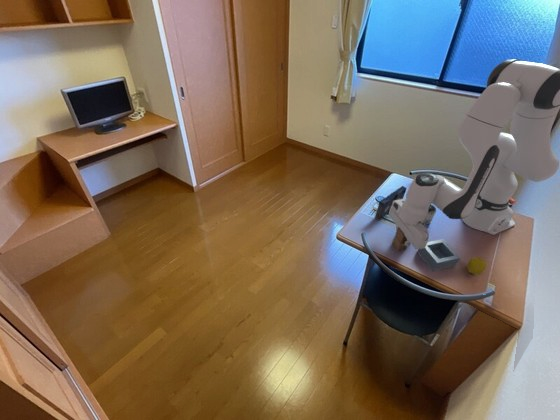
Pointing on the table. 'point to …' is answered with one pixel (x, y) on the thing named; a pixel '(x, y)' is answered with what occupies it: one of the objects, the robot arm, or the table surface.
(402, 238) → the walnut spigot peg
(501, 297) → the table surface
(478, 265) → the lemon
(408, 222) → the robot arm
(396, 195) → the vhs cassette tape
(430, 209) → the camera lens
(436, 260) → the docking socket
